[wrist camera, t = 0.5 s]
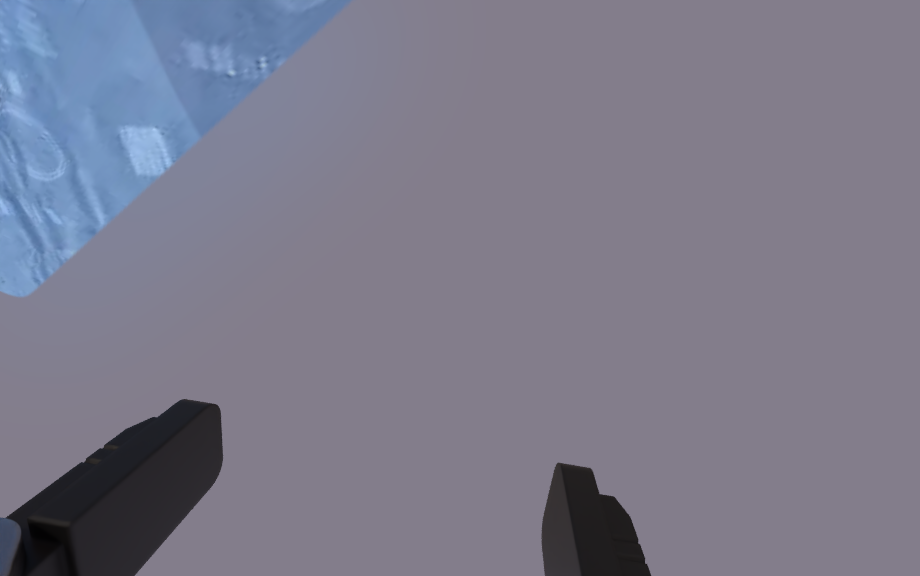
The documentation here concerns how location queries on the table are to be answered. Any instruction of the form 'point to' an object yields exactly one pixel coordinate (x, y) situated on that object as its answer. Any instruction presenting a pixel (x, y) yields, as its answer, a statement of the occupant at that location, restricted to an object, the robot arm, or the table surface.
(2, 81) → the table surface
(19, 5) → the table surface
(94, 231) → the table surface
